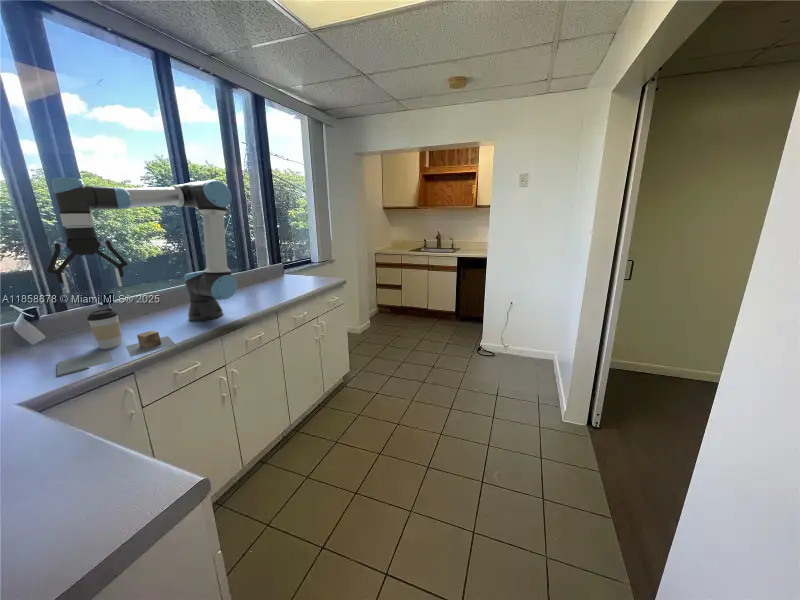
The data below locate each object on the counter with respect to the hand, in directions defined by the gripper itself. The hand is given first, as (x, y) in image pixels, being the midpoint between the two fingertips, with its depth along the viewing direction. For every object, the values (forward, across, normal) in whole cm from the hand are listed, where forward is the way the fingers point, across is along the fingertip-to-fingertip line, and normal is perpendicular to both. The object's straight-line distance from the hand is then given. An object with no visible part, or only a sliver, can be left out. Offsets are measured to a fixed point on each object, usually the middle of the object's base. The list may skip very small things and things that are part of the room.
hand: (95, 289), depth 114 cm
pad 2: (+25, -12, 0) cm, 28 cm away
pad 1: (+26, +7, 0) cm, 27 cm away
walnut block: (+25, -12, 0) cm, 27 cm away
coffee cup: (+26, -1, -13) cm, 29 cm away
